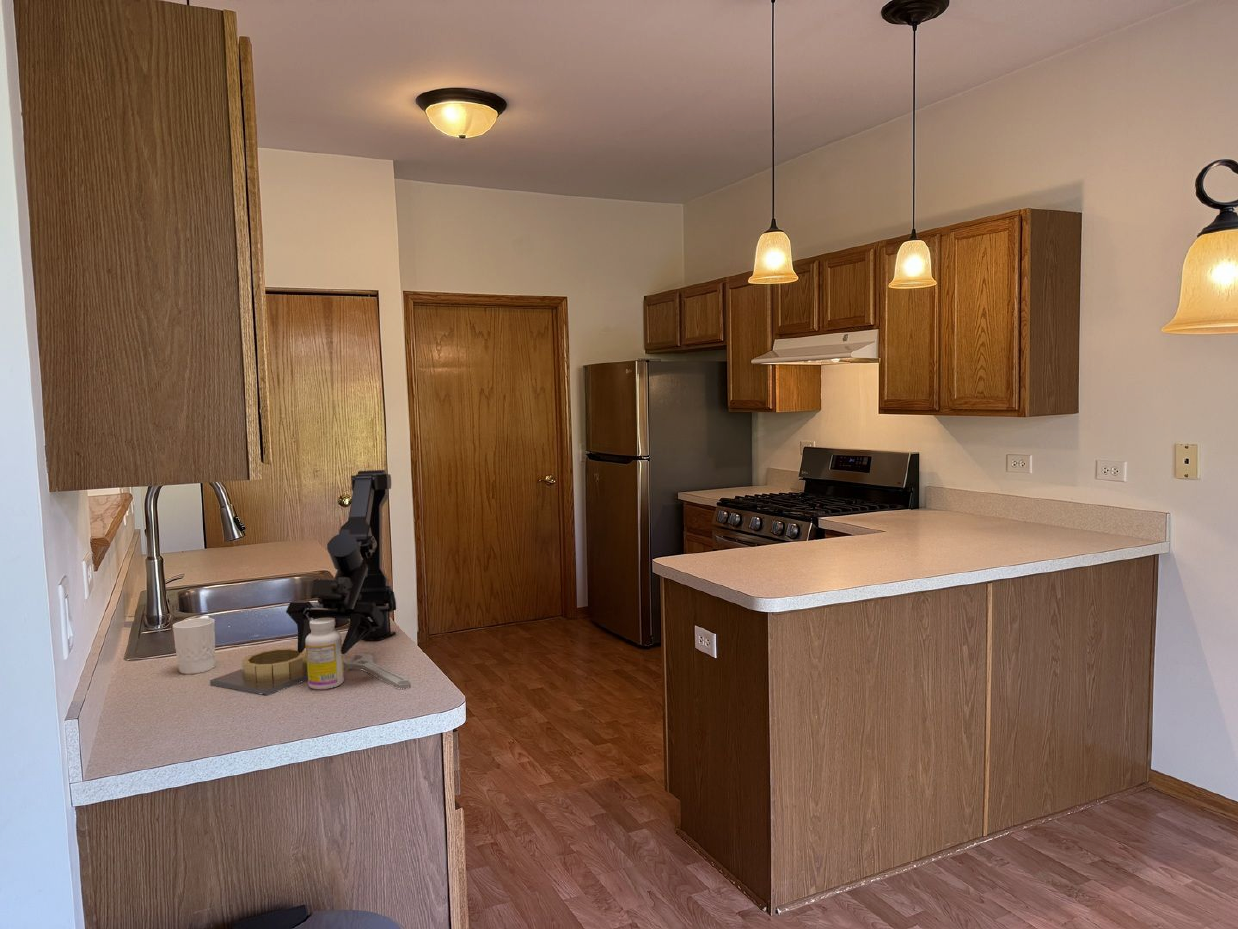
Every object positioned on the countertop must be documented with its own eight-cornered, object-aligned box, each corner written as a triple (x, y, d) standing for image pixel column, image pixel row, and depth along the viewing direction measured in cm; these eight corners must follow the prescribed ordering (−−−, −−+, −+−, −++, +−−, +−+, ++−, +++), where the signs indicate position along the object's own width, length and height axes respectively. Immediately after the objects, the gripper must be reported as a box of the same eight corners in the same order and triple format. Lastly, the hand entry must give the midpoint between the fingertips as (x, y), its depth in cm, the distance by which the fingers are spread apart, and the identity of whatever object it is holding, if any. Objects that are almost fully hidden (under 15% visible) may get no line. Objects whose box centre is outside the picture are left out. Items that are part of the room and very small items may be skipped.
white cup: (169, 676, 176) (165, 628, 175) (187, 664, 184) (183, 618, 183) (207, 674, 176) (204, 626, 175) (224, 662, 184) (220, 617, 183)
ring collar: (283, 659, 185) (282, 641, 185) (338, 667, 178) (336, 648, 178) (210, 685, 169) (208, 665, 169) (267, 695, 162) (265, 675, 162)
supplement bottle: (324, 678, 171) (320, 615, 170) (351, 681, 169) (347, 617, 168) (300, 688, 165) (296, 623, 164) (328, 692, 163) (324, 625, 162)
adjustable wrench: (414, 690, 164) (413, 681, 164) (381, 698, 160) (381, 689, 160) (367, 659, 184) (366, 651, 184) (337, 666, 180) (337, 657, 180)
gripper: (288, 561, 171) (257, 630, 161) (373, 562, 167) (347, 633, 157) (312, 591, 180) (284, 658, 170) (394, 592, 176) (371, 661, 166)
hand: (320, 652), depth 165 cm, fingers open, 9 cm apart
